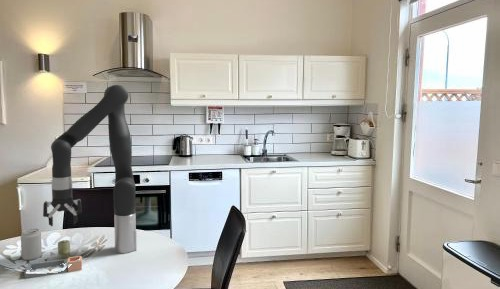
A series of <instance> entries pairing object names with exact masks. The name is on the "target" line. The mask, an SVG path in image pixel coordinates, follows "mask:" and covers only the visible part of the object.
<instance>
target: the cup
mask: <svg viewBox="0 0 500 289" xmlns="http://www.w3.org/2000/svg"><path fill="white" fill-rule="evenodd" d="M82 257H83V256H81V255H77V256H70V257H69V258H68V264H72V265H71V266H70V267H69V268H68V267H67V272H69V273H71V272H78V271H79V272H80V271H81V270H83V268H82V266H83V258H82ZM79 258H80V260H77V259H79ZM75 260H77V261H75Z"/></svg>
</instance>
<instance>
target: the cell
mask: <svg viewBox="0 0 500 289" xmlns="http://www.w3.org/2000/svg"><path fill="white" fill-rule="evenodd" d="M70 243H71V241H70V240H68V239H66V240H65V239H63V240H60V241H58V242H57V258H58V259H57V260H60V259H68V258H69V257H71V244H70Z"/></svg>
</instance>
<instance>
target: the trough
mask: <svg viewBox="0 0 500 289" xmlns="http://www.w3.org/2000/svg"><path fill="white" fill-rule="evenodd" d="M67 262H68V259H60V260H58V259H54V260H46V261H40V262H32V263H27V266H26V269H27V270H30V269H31V268H32V269H31V270H38V269H42V268H51V267H50V266H52V267H57V266H56V265H59V266H61V265H60V264H62V263H64V264H65V263H67ZM26 269H25V270H26ZM67 272H68V268H67V269H65V270H64V271H61V272H58V273H47V274H26V273H25V272H24V279H29V278H36V277H42V276H50V275H56V274H65V273H67Z"/></svg>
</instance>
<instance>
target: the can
mask: <svg viewBox="0 0 500 289" xmlns="http://www.w3.org/2000/svg"><path fill="white" fill-rule="evenodd" d="M21 233H22V234H21V235H20V246H21V247H20V249H21V252H20V253H21V258H22V260H24V261H34V260H37V259H39V258H40V257H41V256H42V255H43V251H42V250H43V248H42V232H41V231H40V229H39V228H28V229H25V230H22V232H21Z"/></svg>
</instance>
